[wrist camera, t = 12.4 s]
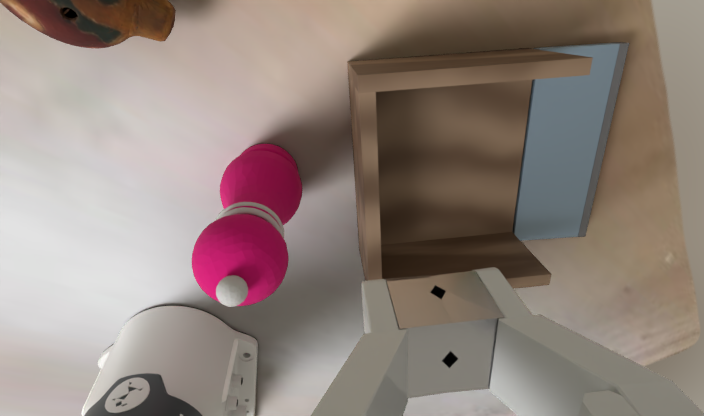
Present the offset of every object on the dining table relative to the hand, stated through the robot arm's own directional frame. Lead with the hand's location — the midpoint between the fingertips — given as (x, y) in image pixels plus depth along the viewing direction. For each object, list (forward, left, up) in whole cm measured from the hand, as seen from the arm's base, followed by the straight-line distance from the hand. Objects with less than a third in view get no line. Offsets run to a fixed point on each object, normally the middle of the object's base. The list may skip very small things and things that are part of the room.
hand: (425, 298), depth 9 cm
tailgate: (-8, -18, -30) cm, 36 cm away
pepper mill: (-8, +8, -31) cm, 33 cm away
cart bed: (-8, -9, -31) cm, 33 cm away
